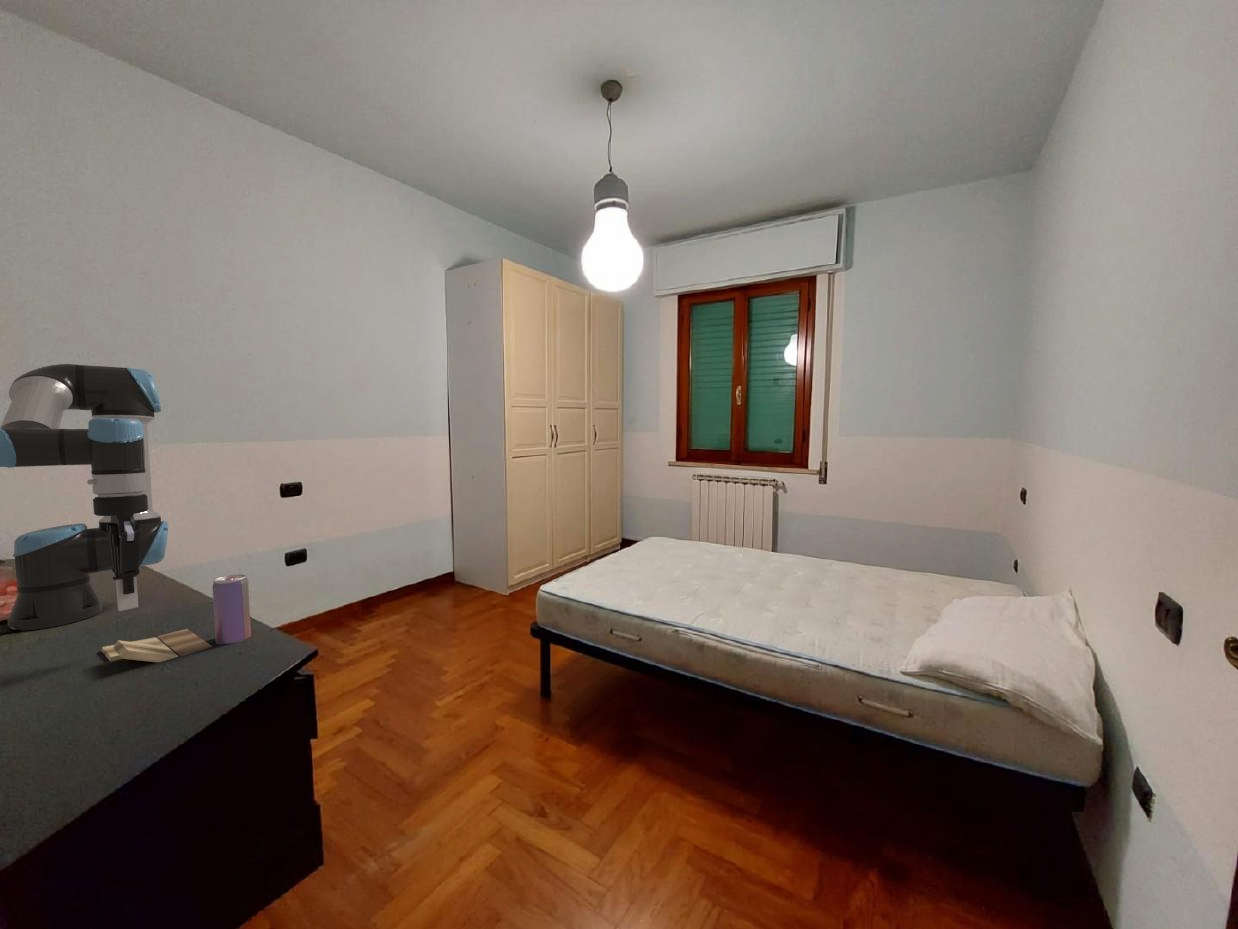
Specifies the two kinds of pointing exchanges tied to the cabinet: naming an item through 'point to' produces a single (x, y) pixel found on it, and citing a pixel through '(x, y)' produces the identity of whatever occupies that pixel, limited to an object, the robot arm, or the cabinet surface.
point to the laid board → (184, 642)
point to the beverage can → (231, 609)
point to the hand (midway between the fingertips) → (128, 608)
